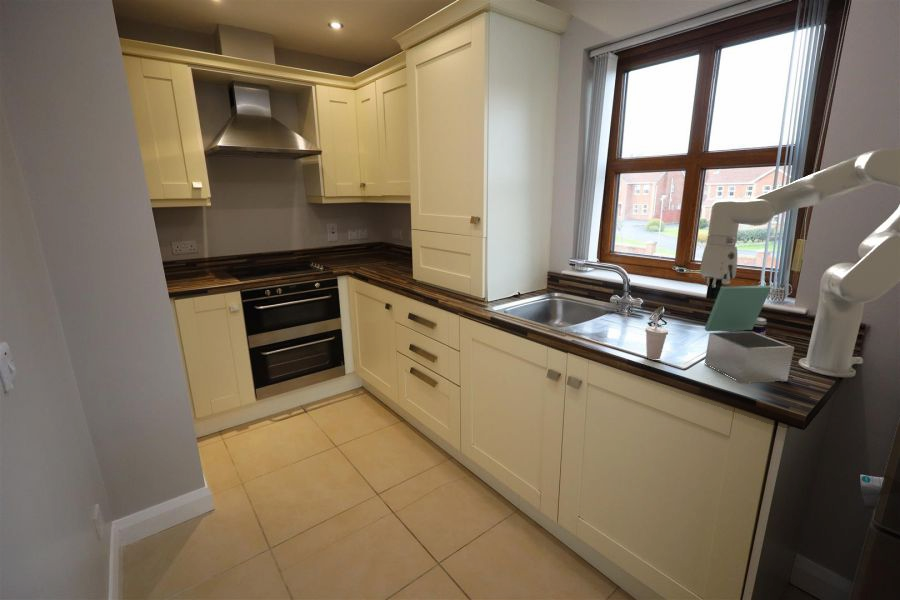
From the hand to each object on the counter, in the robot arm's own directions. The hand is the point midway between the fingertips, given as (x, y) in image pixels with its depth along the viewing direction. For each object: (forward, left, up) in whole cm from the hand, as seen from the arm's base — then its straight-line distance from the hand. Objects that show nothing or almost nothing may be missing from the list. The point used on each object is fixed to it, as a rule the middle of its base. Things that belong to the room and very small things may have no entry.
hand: (712, 298), depth 132 cm
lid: (0, +11, -1) cm, 11 cm away
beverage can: (-14, +3, -18) cm, 23 cm away
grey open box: (0, +16, -18) cm, 24 cm away
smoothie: (+20, +3, -18) cm, 27 cm away
